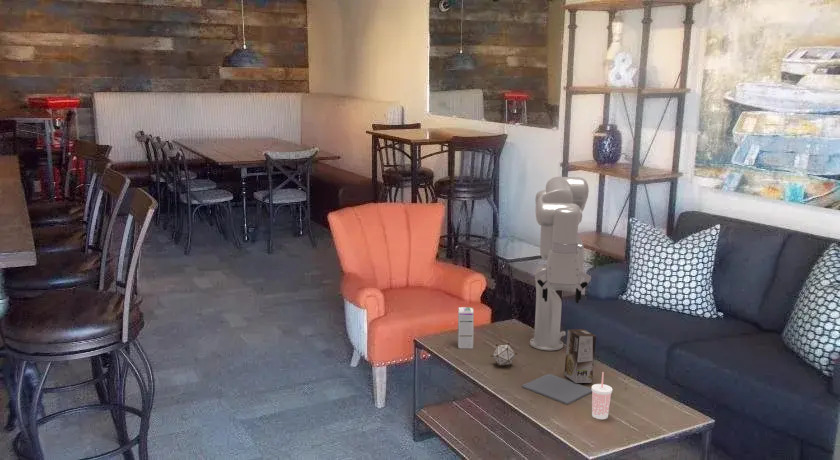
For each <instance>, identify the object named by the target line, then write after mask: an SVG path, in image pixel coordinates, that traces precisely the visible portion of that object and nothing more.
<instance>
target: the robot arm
mask: <svg viewBox="0 0 840 460" xmlns="http://www.w3.org/2000/svg"><path fill="white" fill-rule="evenodd" d="M589 192H590V191H589V183H588V182H587V180H586V179H585V178H583V177H579V176H577V177H575V176H554V177H552V178H550V179H549V180H548V181H547V183H546V184H545V189H544V190H539V191H538V192H537V193H536V195H535V219H536V222H537V224H538V225H539V226H540V239H539V240H540V244H539V249H540V250H539V253H540V257H541V258H542V259H543V260H545V261H546V263H545V264H541V265H539V266H537V268H536V269H535V272H534V281H535V289H536V290H535V291H536V293H535V296H536V297H535V316H534V317H535V318H534V319H535V320H534V335H533V337H532V338H530V340H529V344H530V346H531V347H533V348H534V349H537V350H541V351H551V352H552V351H559V350H561V349H563V347H564V342H563V341H562V340H561V339H562V337H565V336H566V335H567V332H566V331H565V330H561V321H562V319H561V318H562V306H563V305H562V303H563V302H562V299H561V297H560V295H559V294H558V293H557V292H556V291H570V292H571V291H574V292H575V297H574V298H575V300H574V301H575V303H576V304H579V301H581V300H582V291H583V289H584V288H586V287H587V286H588V284H589V283H590V281H591V279H592V277H591V275H589V274H588V273H586V272H584V259H585V258H584V257H585V250H584V247H585V246H584V242H583V240H582V238H581V237H579V236H578V233H579V232H578V231H579V225H580V223H581V222H582V220H583V211H584V209H585V207H586V204H587V200H588V198H589ZM583 280H584V281H583Z"/></svg>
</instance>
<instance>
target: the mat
mask: <svg viewBox="0 0 840 460" xmlns="http://www.w3.org/2000/svg"><path fill="white" fill-rule="evenodd" d="M521 388H523V389H526V390H528V391H530V392H533V393H536V394H538V395H541V396H543V397H546V398H549V399H551V400H554V401H557V402H559V403H562V404H565V405H567V406H568V405H570V404H573V403H574V402H577V401H578V400H580V399H582V398H584V397H586V396H588V395H590V394H592V390H591V389H592V388H590V387H588V386H585V385H582V384H581V383H575V382H574V381H572V380H570V379H569V380H568V379H566V378H563V377H560V376H557V375H555V374H552V373H547V374H543V375H542V376H539V377H538V378H536V379H533V380H531V381H529V382H527V383H524V384H522V385H521Z"/></svg>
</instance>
